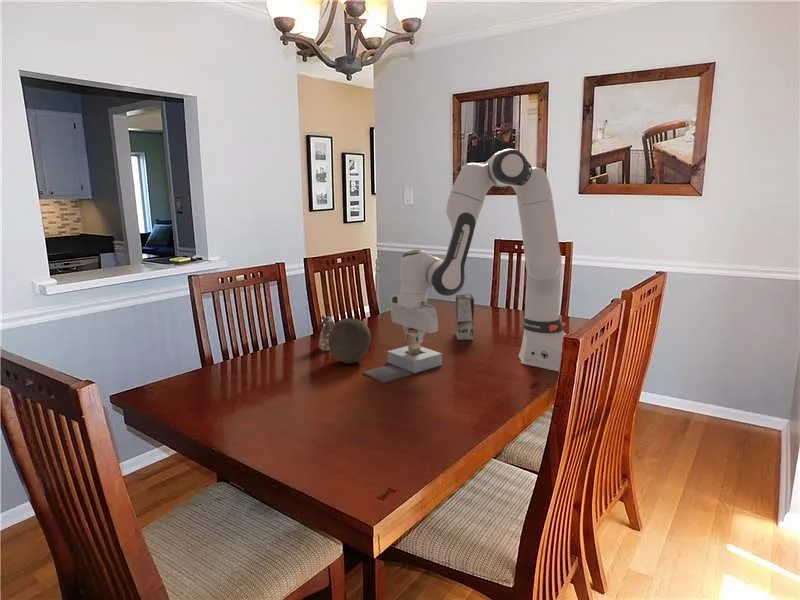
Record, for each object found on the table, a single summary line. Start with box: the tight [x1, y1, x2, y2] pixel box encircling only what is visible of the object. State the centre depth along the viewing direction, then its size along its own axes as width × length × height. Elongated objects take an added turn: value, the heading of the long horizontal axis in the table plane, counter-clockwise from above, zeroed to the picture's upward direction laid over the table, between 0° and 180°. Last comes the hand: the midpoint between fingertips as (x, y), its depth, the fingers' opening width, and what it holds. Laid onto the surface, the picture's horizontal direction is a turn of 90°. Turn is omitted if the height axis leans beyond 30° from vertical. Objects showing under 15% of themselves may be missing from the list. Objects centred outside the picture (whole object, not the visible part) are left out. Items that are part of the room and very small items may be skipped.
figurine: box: [318, 315, 335, 351], centre depth 198 cm, size 7×7×12 cm
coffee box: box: [455, 293, 475, 340], centre depth 209 cm, size 9×6×16 cm
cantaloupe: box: [329, 317, 372, 365], centre depth 181 cm, size 14×14×15 cm
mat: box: [362, 363, 413, 384], centre depth 170 cm, size 11×11×1 cm
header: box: [386, 345, 443, 374], centre depth 179 cm, size 14×12×4 cm
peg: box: [407, 328, 421, 356], centre depth 178 cm, size 4×4×12 cm
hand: (414, 340), depth 178 cm, fingers closed on peg, 4 cm apart
